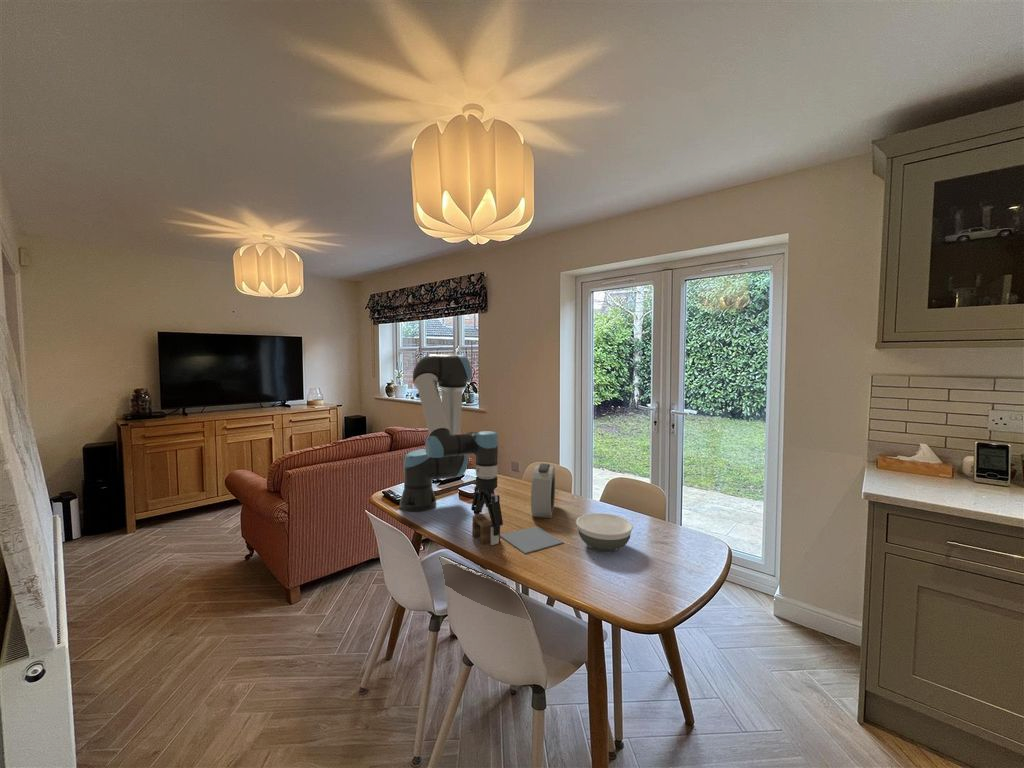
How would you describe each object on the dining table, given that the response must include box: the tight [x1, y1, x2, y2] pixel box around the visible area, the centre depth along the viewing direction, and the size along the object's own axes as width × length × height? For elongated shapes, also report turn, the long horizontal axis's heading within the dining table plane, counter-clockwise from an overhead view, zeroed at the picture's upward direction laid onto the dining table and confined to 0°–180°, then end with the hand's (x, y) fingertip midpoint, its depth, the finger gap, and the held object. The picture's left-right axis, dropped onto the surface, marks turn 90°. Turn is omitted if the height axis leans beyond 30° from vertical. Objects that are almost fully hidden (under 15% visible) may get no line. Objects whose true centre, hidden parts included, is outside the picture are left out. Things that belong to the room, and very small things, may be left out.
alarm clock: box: [530, 463, 556, 519], centre depth 175 cm, size 21×8×20 cm, turn 168°
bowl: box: [575, 512, 634, 553], centre depth 143 cm, size 19×19×8 cm
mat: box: [500, 526, 564, 555], centre depth 148 cm, size 16×16×1 cm
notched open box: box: [471, 512, 501, 545], centre depth 149 cm, size 8×7×8 cm
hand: (486, 537), depth 149 cm, fingers open, 11 cm apart
